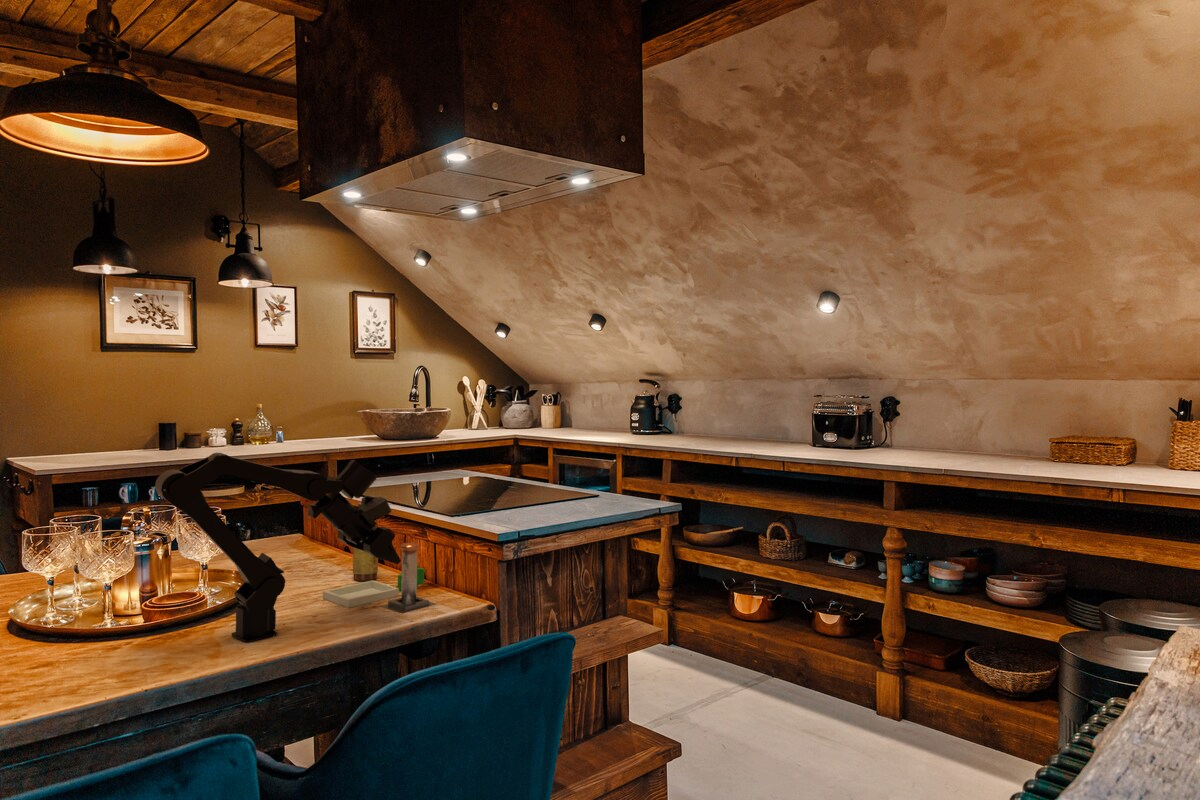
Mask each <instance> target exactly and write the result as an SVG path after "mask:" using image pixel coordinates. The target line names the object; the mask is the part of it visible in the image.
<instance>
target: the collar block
mask: <svg viewBox="0 0 1200 800" xmlns="http://www.w3.org/2000/svg"><path fill="white" fill-rule="evenodd" d="M436 605H437V603H435V602H431V601H430V600H428V599H425V598H423V597H419V596H416V603H412V604H408V605H405V604H402V603H401V597H398V598H393V599H390V600H388V601H387V604H383V605H380V606H379V607H381V608H383V609H387V610H389V611H392V612H396V613H397V612H398V613H397V614H400V613H402V614H405V613H408V612H409V613H410V612H413V611H417V610H421V609H425V608H428V607H432V606H436Z"/></svg>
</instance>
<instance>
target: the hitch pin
mask: <svg viewBox="0 0 1200 800" xmlns="http://www.w3.org/2000/svg"><path fill="white" fill-rule="evenodd" d="M399 546H400V548H399V549H400V550H401V573H402V586H401V592H400V594H401V595H400V598H401V603H402V604H405V605H408V604H412V603H416V597H418V596H417V592H418V591H417V590H418V588H417V565H418V550H419V551H420V543H418V542H403V543H401V544H400V545H399Z"/></svg>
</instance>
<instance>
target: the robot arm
mask: <svg viewBox="0 0 1200 800" xmlns="http://www.w3.org/2000/svg"><path fill="white" fill-rule="evenodd" d="M223 475H224V476H229V477H234V478H237V479H243V480H247V481H250V482H254V483H258V484H263V485H268V486H271V487H276V488H280V489H282V490H284V491H286V492H289V493H292V494H293V495H295V496H298V497H301V498H303V499H305V500H308V501H311V502H314V503H309V504H308V505H307V506H308V510H307V516H308V517H310V518H312V519H317V518H318V517H319V516H320V515H322V516H323V517H324V518H325V519H326V520H327V521H328V522H329V523H330V524H331V525H332V527H333V528H334V530H336V531H337V533H336V534H337V537H336V538H337V539H338V540H339V541H341V542H342V543H343V544H345V545H347V546H350V547H351V548H353V547H354V548H357V549H360V550H363V551H365V552H367V553H369V554H370V555H371V556H374V557H376V558H378V560H379V559H380V560H383V561H386V562H389V563H392V564H395V565H399V564H400V563H402V559H401V558H400V556H399V555H398V552H397V550H396V549H395V547H394V545H393V541H394V540H395V537H396V533H395V532H394V531H392V529H391V528H389V527H385V526H377V524H378V523H377V520H379V519H381V518H382V517H384V516H386V515H389V514H391V513H392V509H391V506H390V504H389V502H388V500H387V499H386V498H385V497H382V496H379V497H376V496H374V498H373V497H371V496H370V495H365V496H364V497H362V496H363V495H364V493H365V492H367V490H368V489H369V488H370V487H371V486H372V485H373V484H374V482H376V481H377V477H376V475H375V474H374V473H373V472H372V471H371V470H369V469H367V468H366V467H365V466H363V465H362V464H361V463H359V462H358V461H357V460H354V459H351V460H350V461H349V462H348V463H347V465H346V466H345V468H343V470H342V471H341V472H340V473H339V474H338V475H337V476H336V477H333V476H325V475H324V474H321V473H318V472H314V471H311V470H303V469H282V468H278V467H273V466H269V465H265V464H262V463H257V462H254V461H249V460H245V459H241V458H238V457H233V456H229V455H228V454H225V453H222V452H214V453H212V454H210V455H209V456H206V457H205V458H203V459H200V460H197V461H194V462H192V463H191V464H188V465H186V466H184V467H181V468H179V469H169V470H166V471H164V472H162V473H161V474H160V475H159V476H158V477H157V479H156V480H155V487H154V488H155V491H156V493H157V494H158V495H159V496H160V497H161V498H162V499H164V500H165V501H167V502H168V503H169V504H171V505H172V506H174V507H175V508H177V509H178V510H179V511H181V512H182V513H183V514H185V515H187V516H188V517H189V518H190V519H191V520H192V521H193V523H195V524H196V525H197V526H198V527H199V529H200V530H201V531H202V532H204V534H205V535H206V536H207V537H208V538H209V539H210V540H211V541H212V543H214V544H215V546H217V547H218V548H219V550H221V551H222V553H223V554H225V556H226V557H227V558H228V559H229V560H230V562H232V563H233V564H234V565H235V567H236V569H237V571H238V573H239V574H240V576H241V578H242V580H243V583H242V584H241V585H240V586H238V587H237V589H236V590H235V591H234V597H235V599H236V602H238V603H239V604H240V605H237V606H236V607H235V631H234V632H231V636H232V637H234V638H236V639H238V640H240V641H242V642H244V643H251V642H255V641H259V640H262V639H266V637H267V638H270V637H269V636H271V637H274V636H273V635H275V636H277V635H278V632H277V631H276V628H277V627H276V625H277V624H276V623H277V622H276V621H277V617H276V616H277V609H275V608H274V607H275V605H276V603H277V599H278V597H279V596H280V595H281V594H282V593H283V592H284V589H285V587H286V586H285V585H286V583H287V582H286V581H287V580H286V578H285V577H284V575H283V574H284V573H285V571H284V570H282V569H281V568H280V567H278V566H277V565H276V563H275V560H273V558H272V557H270V556H268V555H267V554H266V553H264V552H261V553H260V554H259V555H258V556H256V555H255V554H254V552H252V550H251V549H250V548H249V547H248V546H247V545H246V544H245V542H244V541H242V539H240V537H238V535H237V534H236V533H235V532H234V531H233V530H232V529H231V527H229V526H228V525H227V524H226V522H224V520H223V519H222V518H221V517H220V516H219V515H218V514H217V513H216V512H215V511H214V510H213V508H212V507H210V505H209V503H208V502H207V501H208V500H207V499H206V498H205V495H204V493H203V492H202V490H201V489H203V488H205V487H207V486H208V485H209V484H211V483H213V482H214V481H215V480H217V479H218V478H219V477H221V476H222V477H223ZM361 497H362V498H361ZM347 498H348V499H350V500H353V499H354V498H355V499H360V498H361V500H360V501H361V502H360V503H361V507H360V508H359V509H358V507H356V506H354V505H353V504H352V503H351V502H350V501H349V500H348V499H347ZM375 525H376V529H375V530H373V529H371V528H372V527H374V526H375ZM276 634H277V635H276Z"/></svg>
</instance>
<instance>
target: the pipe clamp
mask: <svg viewBox="0 0 1200 800" xmlns="http://www.w3.org/2000/svg"><path fill="white" fill-rule="evenodd" d="M424 584H425V567H424V568H423V567H420V566H419V564H417V589H418V587H419V586H418V585H424ZM401 586H402V572H401V573H399V574H398V575H397V588H399V593H401Z"/></svg>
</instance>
